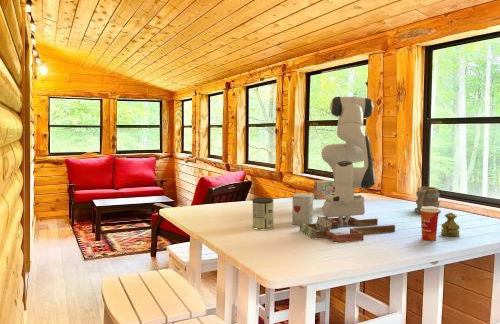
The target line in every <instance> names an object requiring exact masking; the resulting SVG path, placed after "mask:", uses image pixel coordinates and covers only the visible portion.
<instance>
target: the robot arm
mask: <svg viewBox="0 0 500 324" xmlns="http://www.w3.org/2000/svg"><path fill="white" fill-rule="evenodd" d="M373 102H374V101H373V100H372V99H371V98H368V97H359V96H335V97H333V98H332V100H331V101H330V104H329V110H330V111H329V112H330V113H331V115H332V116H333V117H336V118H338V120H337V127H336V135H337V137H338V138H339V139H340V140H341V141H344V142H345V143H332V144H328V145H327V144H326V145H324V146H323V148H322V150H321V158H322V159H323V160H322V161H324V162H325V163H327V165H329V166H330V169H331V170H332V175H333V181H334V187H332V189H333V191H332V192H333V193H331V194H328V195H326V196H325V199H324V200H325V201H324V203H323V205H322V214H323V217H328V218H338V219H339V220H340V225H341V226H344V225H348V221H349V219H350V217H353V216H363V215H364V214H365V213H366V212H365V211H366V209H365V198H364V196H363V195H360V194H359V195H355V188H361V189H367V190H368V189H371V188H372V187H374V185H376V180H377V175H376V172H375V167H374V160H373V153H372V152H373V151H372V147H371V145H372V144H371V140H370V137H369V136H368V135H367V134H366V133H365V132H364V119H368V118H370V117H371V116H372V114H373V112H374V109H375V108H374V103H373ZM360 162H361V163H362V162H363V164H364V166H361V167H360V166H359V167H354V164H357V163H360ZM343 217H346V219H345V221H343V220H342V219H343Z"/></svg>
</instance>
